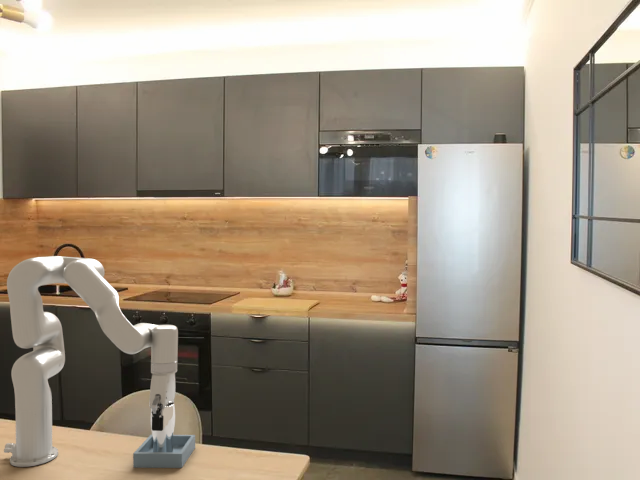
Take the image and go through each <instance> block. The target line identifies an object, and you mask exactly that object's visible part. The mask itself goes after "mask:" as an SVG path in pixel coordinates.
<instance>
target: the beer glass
mask: <svg viewBox="0 0 640 480" xmlns="http://www.w3.org/2000/svg"><path fill="white" fill-rule="evenodd" d="M158 406H162V405H158ZM175 407H176V406H175V401H174V402H171V403H170V404H169V405H168V406H167V407H166V408H164V411H163V415H162V416H164V418H163V430H162V431H153V430H152V413H151V412H152V408H150V428H151V429H150V430H151V435H153V443H154V446H153V452H173V447H172V438H173V435H174V431H175V425H176V408H175ZM157 410H159V412H160V410H161V409H157Z"/></svg>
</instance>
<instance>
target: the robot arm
mask: <svg viewBox="0 0 640 480" xmlns="http://www.w3.org/2000/svg"><path fill="white" fill-rule="evenodd" d="M105 271H106V270H105V268H104V266H103V263H101V262H100V261H99V260H97V259H94V258H91V257H90V258H88V257H87V258H86V257H73V256H61V255H60V256H59V255H49V256H48V255H47V256H37V257H36V256H35V257H31V258H27V259H24V260H22V261H20V262H18V264H16V265H14V266H13V267H12V269H11V271H10V272H9V273H8V277H7V279H6V288H7V289H6V290H7V296H8V300H9V301H8V302H9V309H10V312H9V313H10V321H11V331H12V332H11V333H12V338H13V341H14V344H15V345H16V346H17V347H18V348H21V349H31V348H33V350H32V351H29V352H28V353H25V354H23V355H22V356H20V357H19V358H17V359H16V360H15V362H14V363H13V365H12V368H11V374H10V375H11V381H12V384H13V389H14V406H15V407H14V408H15V443H13V442H7V443H5V445H4V449H3V453H5V454H8V453H11V456H10V457H9V464H10V465H11V466H14V467H16V468H17V467H18V468H26V467H27V468H28V467H35V466H38V465H43V464H46V463H47V462H50V461H52V460H54V459H55V458H56V457H58V455H59V449H58V448H57V447H55V446H53V404H52V403H53V401H52V399H53V397H52V389H51V387H50V385H49V381H48V380H49V379H50V378H52V377H54V376H55V375H57V374H59V373H60V372H61V371H62V369H63V368H64V365H65V363H66V354H65V353H66V351H65V342H64V335H63V334H64V333H63V327H62V323H61V321H60V319H59V318H58V316H56V315H55V314H54V313H52V312H49V311H44V305H43V297H42V295H41V294H40V291H39V287H41V286H47V285H53V284H67V285H68V286H69V287H70V288H71V290H72V291H74V292H75V294H77V296H78V297H80V299H81V300H82V301H83V302H84V303H86V305H87V306H88V307H89V308H90V309H91V310H92V311H93V313H94V314H95V317H96V320H97V322H98V324H99V326H100V328H101V330H102V332H103V334H104V335H105V336H106V337H107V338H108V339H109V340H110V341H111V343H113V344H114V345H115V346H116V348H118V349H119V350H120V351H121V352H123V353H125V354H127V355H135V354H137V353H139V352H141V351H144V349H147V348H150V347H151V348H150V353H151V354H150V356H151V357H150V358H151V359H150V373H151V379H150V380H151V381H150V387H149V388H150V389H149V403H148V404H149V405H148V406H149V408H150V409H151V408H152V412H151V411H150V414H151V413H152V430H153V431H162V430H163V418H164V416H162V415H163V411H164V408H166V407H167V406H168V405H169V404H170V403H171V402H174V403H175V398H176V373H177V372H178V355H179V354H178V351H179V350H178V347H179V346H178V345H179V330H178V326H176V325H173V324H154V323H153V324H152V323H149V322H148V323H147V322H140V323H139V322H138V323H137V324H134V325H133V324H132V323H131V321H129V320H128V319H127V317H126V316H125V315H124V314H123V312H122V310H121V308H120V305H119V304H120V302H119V301H120V296H119V292H118V291H117V290H116V289H115V287H114V286H112V285H111V284H110V283H109V282H108V280H106V278H104V277H105V274H106V273H105ZM158 405H162V406H158ZM157 409H161V410H160V412H159V410H157ZM152 430H151V431H152Z"/></svg>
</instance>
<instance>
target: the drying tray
mask: <svg viewBox="0 0 640 480" xmlns="http://www.w3.org/2000/svg"><path fill="white" fill-rule="evenodd" d="M153 446H154V443H153V435H152V434H149V436H148V437H147V438H146V439H145V440H144V441H143V443H142V444H140V446H139V447H138V448H137V449H135V451H134V452H133V454H132V456H133V457H132V458H133V459H132V460H133V462H132V465H133V467H132V468H135V469H136V468H137V469H139V468H145V469H146V468H151V469H152V468H153V469H155V468H156V469H158V468H159V469H160V468H162V469H165V468H167V469H169V468H170V469H182V468H183V467H184V466H185V464H186V462H187V461H188V459H189V458H190V457H191V455H192V454H193V452H194V451H195V449H196V435H195V434H173V438H172V447H173V452H153Z"/></svg>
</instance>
